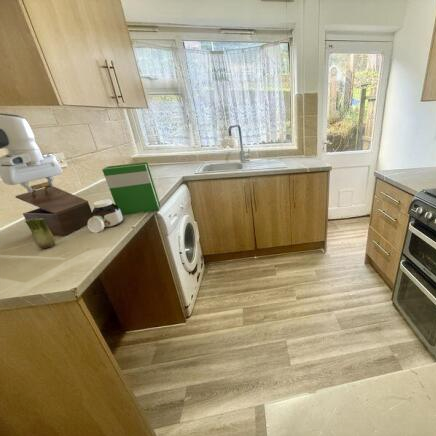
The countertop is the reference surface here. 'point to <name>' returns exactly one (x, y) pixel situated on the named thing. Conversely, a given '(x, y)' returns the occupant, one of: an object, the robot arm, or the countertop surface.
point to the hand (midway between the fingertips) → (41, 189)
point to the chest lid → (51, 199)
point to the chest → (63, 219)
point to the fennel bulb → (41, 233)
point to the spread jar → (104, 216)
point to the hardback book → (132, 188)
